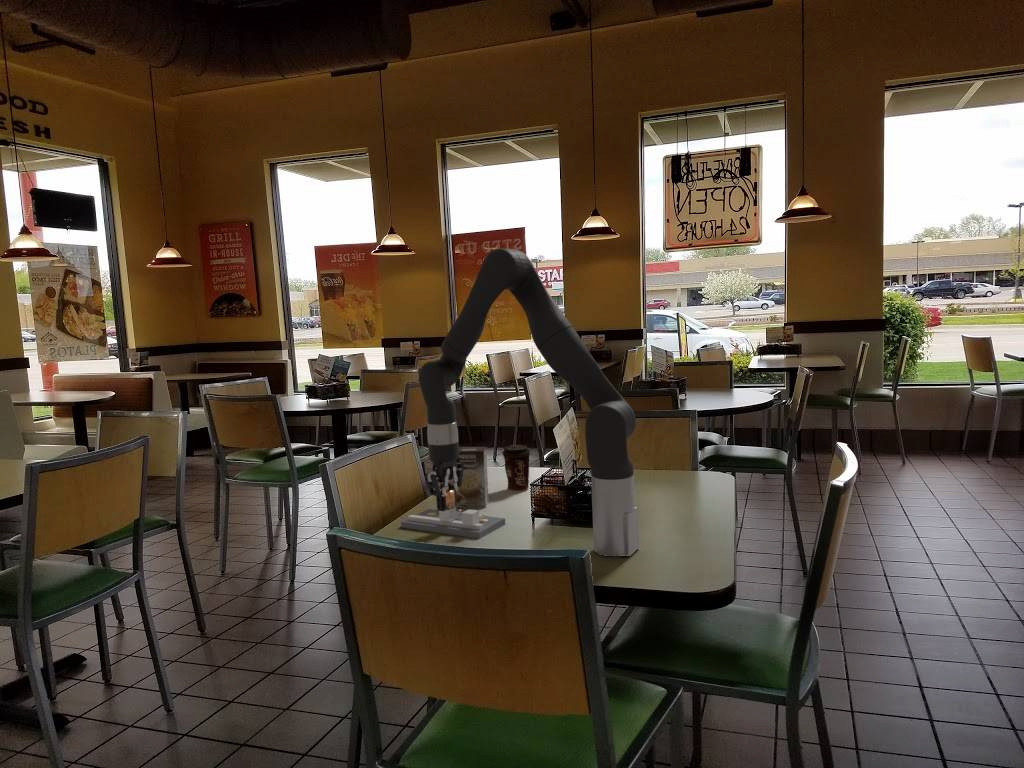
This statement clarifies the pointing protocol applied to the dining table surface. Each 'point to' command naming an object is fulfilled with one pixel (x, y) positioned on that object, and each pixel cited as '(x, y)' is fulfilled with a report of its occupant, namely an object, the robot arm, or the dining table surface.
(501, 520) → the plate
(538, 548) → the dining table surface
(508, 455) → the coffee cup
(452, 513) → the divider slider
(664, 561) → the dining table surface
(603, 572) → the dining table surface
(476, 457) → the coffee box
